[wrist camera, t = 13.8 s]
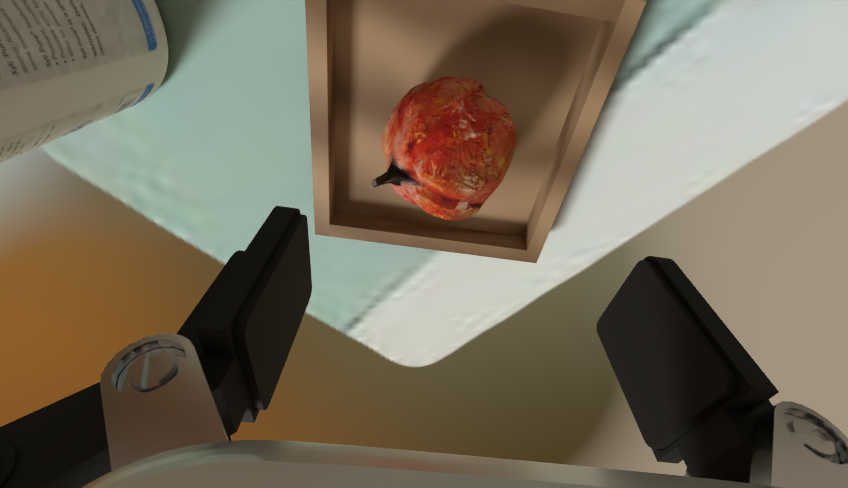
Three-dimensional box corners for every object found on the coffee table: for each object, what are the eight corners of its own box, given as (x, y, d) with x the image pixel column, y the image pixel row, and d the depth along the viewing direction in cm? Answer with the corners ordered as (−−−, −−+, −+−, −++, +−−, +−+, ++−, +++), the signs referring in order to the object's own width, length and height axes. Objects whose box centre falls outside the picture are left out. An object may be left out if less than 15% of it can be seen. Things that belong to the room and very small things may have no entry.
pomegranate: (485, 48, 22) (332, 65, 17) (586, 90, 18) (422, 127, 13) (465, 158, 27) (342, 195, 22) (540, 211, 23) (409, 271, 18)
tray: (318, -56, 18) (302, -62, 16) (623, -1, 19) (646, 1, 17) (324, 215, 27) (315, 234, 25) (528, 242, 28) (536, 263, 26)
